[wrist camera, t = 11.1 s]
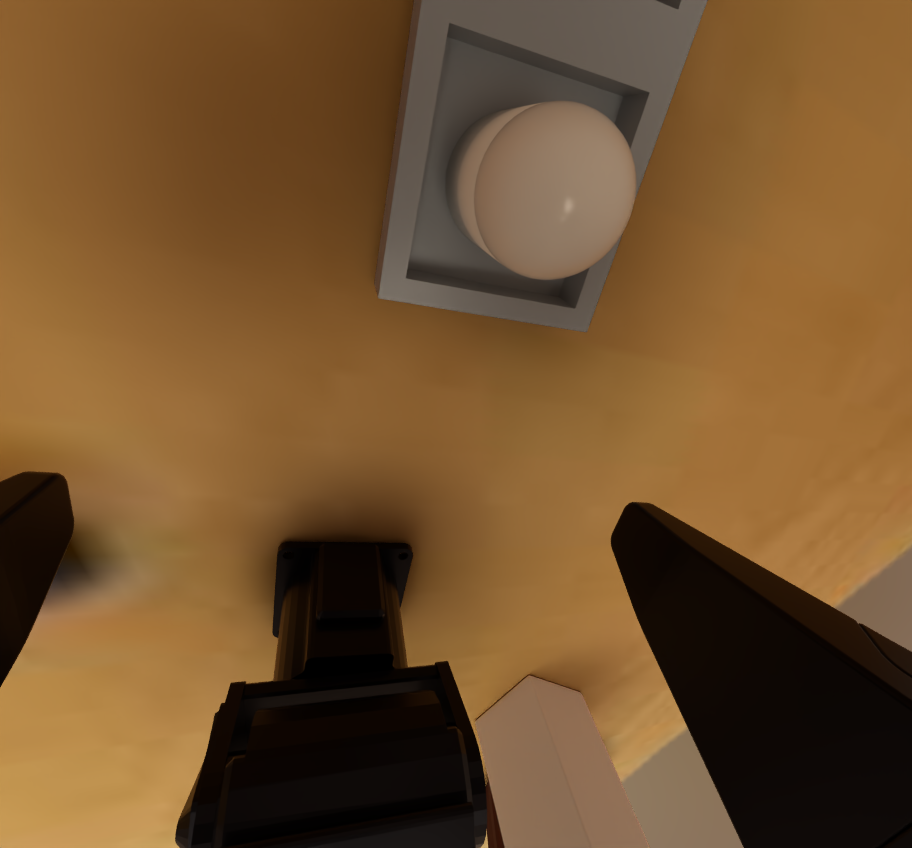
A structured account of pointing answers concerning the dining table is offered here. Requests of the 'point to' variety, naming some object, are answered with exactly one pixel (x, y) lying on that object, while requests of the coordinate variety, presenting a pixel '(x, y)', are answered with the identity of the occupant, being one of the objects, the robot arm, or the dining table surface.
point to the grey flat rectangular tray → (504, 87)
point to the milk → (553, 772)
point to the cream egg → (542, 187)
